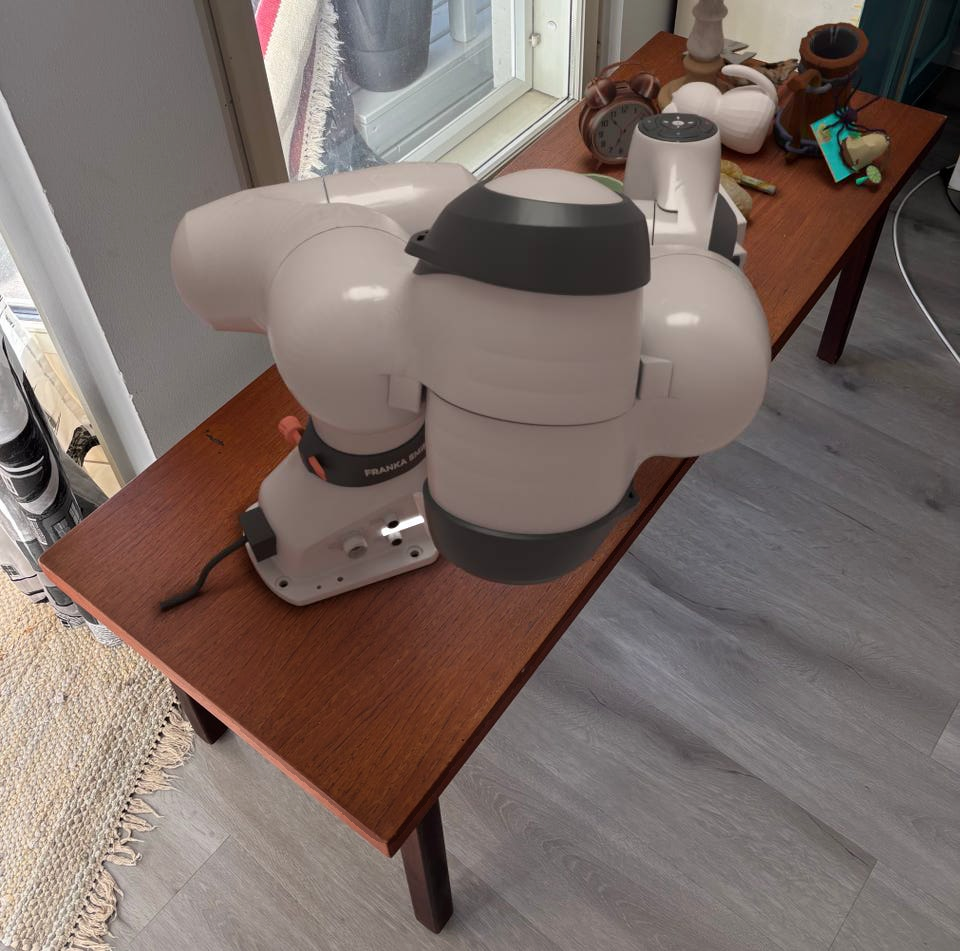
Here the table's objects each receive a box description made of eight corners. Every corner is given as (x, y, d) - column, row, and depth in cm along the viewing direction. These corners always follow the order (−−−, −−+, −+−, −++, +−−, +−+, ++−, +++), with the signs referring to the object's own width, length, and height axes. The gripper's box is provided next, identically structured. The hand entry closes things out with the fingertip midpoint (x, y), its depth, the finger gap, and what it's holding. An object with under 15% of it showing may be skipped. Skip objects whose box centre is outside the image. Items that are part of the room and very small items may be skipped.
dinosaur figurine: (797, 119, 147) (778, 90, 153) (815, 81, 143) (794, 53, 149) (714, 105, 144) (697, 76, 150) (730, 66, 140) (712, 38, 146)
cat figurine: (762, 145, 145) (667, 115, 147) (794, 65, 136) (691, 33, 138) (751, 174, 139) (651, 142, 142) (782, 92, 130) (675, 59, 132)
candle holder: (684, 135, 145) (701, -3, 129) (641, 96, 152) (653, -38, 136) (754, 113, 147) (780, -25, 132) (709, 76, 155) (728, -58, 139)
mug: (812, 190, 135) (837, 88, 123) (736, 164, 139) (754, 63, 128) (865, 128, 143) (894, 28, 132) (792, 106, 148) (813, 7, 136)
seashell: (664, 197, 126) (711, 133, 133) (655, 231, 131) (701, 168, 138) (734, 228, 123) (779, 161, 130) (722, 262, 128) (766, 196, 136)
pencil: (651, 152, 139) (772, 195, 134) (653, 145, 138) (774, 188, 134) (654, 149, 140) (774, 191, 135) (656, 141, 139) (777, 184, 134)
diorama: (843, 200, 134) (877, 185, 129) (798, 98, 132) (830, 79, 127) (888, 174, 139) (922, 158, 134) (845, 75, 137) (878, 56, 132)
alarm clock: (585, 176, 139) (589, 77, 128) (575, 158, 142) (578, 59, 131) (658, 163, 140) (668, 63, 129) (646, 145, 143) (655, 46, 132)
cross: (673, 67, 158) (724, 82, 153) (674, 50, 156) (725, 65, 151) (713, 43, 162) (764, 57, 157) (714, 27, 160) (765, 41, 155)
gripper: (593, 324, 93) (588, 422, 103) (761, 247, 99) (740, 348, 109) (556, 288, 96) (555, 387, 107) (720, 216, 102) (704, 316, 113)
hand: (650, 366), depth 108 cm, fingers open, 8 cm apart
